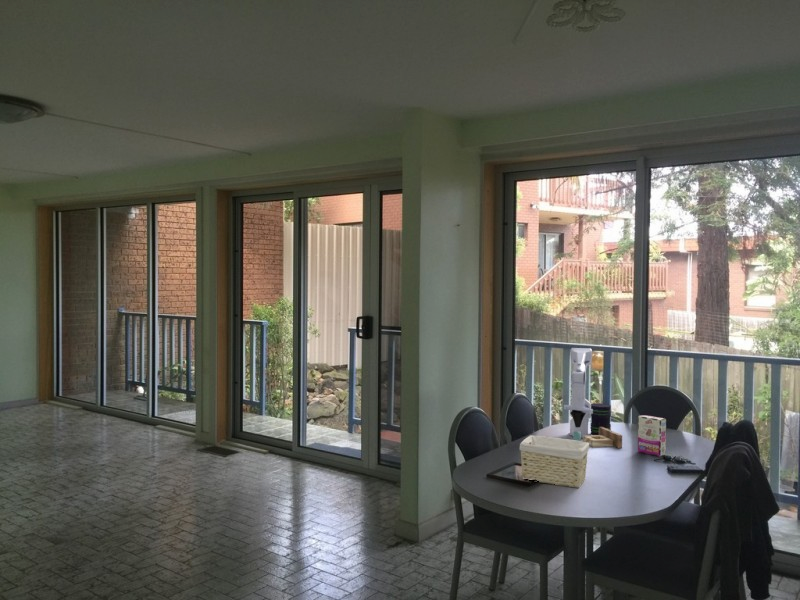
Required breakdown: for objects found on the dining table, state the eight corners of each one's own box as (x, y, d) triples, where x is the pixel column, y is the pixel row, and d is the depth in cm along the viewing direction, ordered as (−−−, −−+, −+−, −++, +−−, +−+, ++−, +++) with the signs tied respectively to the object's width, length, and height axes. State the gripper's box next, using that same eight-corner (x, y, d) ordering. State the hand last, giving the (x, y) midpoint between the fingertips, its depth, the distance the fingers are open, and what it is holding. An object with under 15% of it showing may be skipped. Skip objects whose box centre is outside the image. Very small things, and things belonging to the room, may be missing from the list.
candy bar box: (666, 455, 280) (666, 418, 279) (660, 457, 277) (660, 419, 276) (643, 450, 289) (643, 414, 288) (637, 451, 286) (637, 415, 285)
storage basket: (590, 478, 245) (590, 440, 244) (582, 490, 230) (582, 450, 230) (529, 470, 255) (529, 434, 255) (517, 481, 241) (518, 442, 241)
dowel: (572, 448, 290) (572, 431, 290) (578, 448, 290) (578, 431, 290) (575, 450, 287) (575, 433, 287) (581, 450, 287) (582, 432, 287)
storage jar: (613, 433, 321) (613, 404, 320) (608, 437, 312) (608, 407, 312) (593, 431, 326) (593, 402, 326) (587, 435, 318) (588, 405, 317)
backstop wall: (598, 439, 309) (598, 426, 309) (602, 439, 310) (602, 426, 309) (618, 448, 291) (618, 435, 291) (622, 448, 292) (622, 435, 292)
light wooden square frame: (583, 441, 303) (583, 435, 303) (602, 441, 305) (602, 434, 305) (593, 447, 293) (593, 440, 293) (613, 446, 295) (613, 439, 295)
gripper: (559, 396, 295) (559, 425, 295) (586, 400, 283) (586, 430, 283) (569, 395, 299) (568, 423, 299) (595, 399, 288) (595, 429, 288)
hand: (577, 427), depth 291 cm, fingers closed
